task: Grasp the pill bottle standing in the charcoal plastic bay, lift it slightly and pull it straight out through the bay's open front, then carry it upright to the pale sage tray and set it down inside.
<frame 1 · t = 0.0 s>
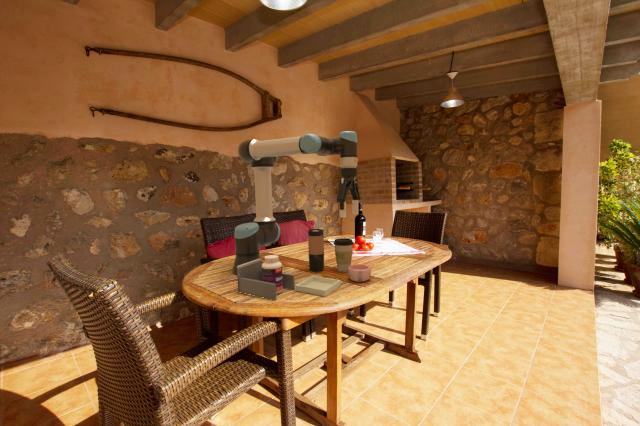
hand: (349, 215, 135), 28 cm above the table, fingers open, 13 cm apart
tray: (318, 288, 123), on the table
mug: (358, 279, 134), on the table
travel mug: (316, 270, 149), on the table
coffee cup: (343, 270, 149), on the table
bay: (266, 290, 122), on the table
pill bottle: (272, 292, 120), on the table
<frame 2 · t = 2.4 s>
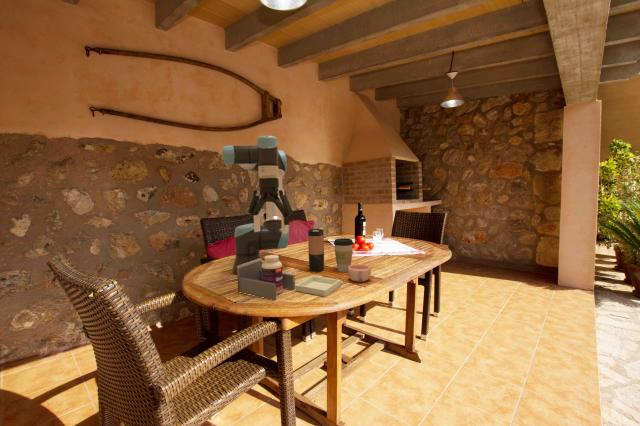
hand: (270, 232, 118), 24 cm above the table, fingers open, 13 cm apart
nothing on the table moved.
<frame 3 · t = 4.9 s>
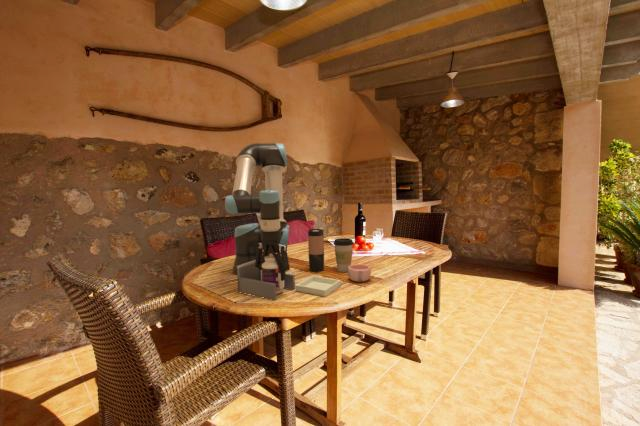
hand: (272, 286, 120), 2 cm above the table, fingers closed on pill bottle, 8 cm apart
pill bottle: (272, 292, 120), on the table, touching gripper
everything else where it was.
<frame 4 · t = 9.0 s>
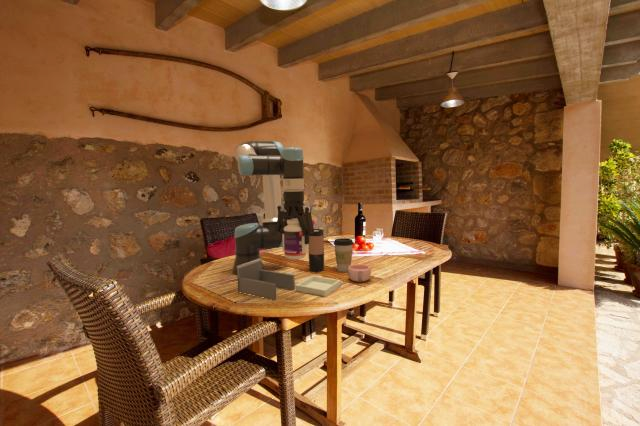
hand: (295, 251, 113), 17 cm above the table, fingers closed on pill bottle, 8 cm apart
pill bottle: (295, 258, 113), point 15 cm above the table, touching gripper
everything else where it was.
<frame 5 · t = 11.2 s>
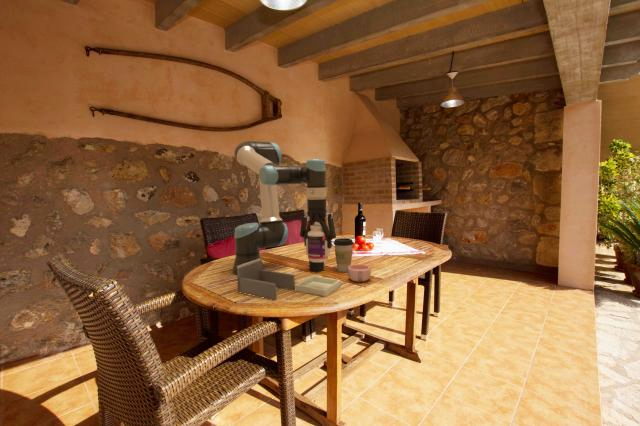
hand: (318, 255, 122), 14 cm above the table, fingers closed on pill bottle, 8 cm apart
pill bottle: (318, 261, 122), point 11 cm above the table, touching gripper
everything else where it was.
when the fingers open (4 cm above the table, at t = 13.3 s): pill bottle drops 1 cm, resting on tray.
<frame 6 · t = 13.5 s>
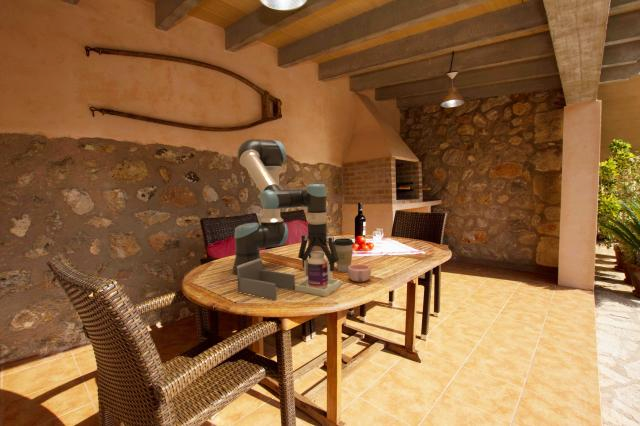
hand: (318, 277, 123), 5 cm above the table, fingers open, 10 cm apart
pill bottle: (318, 287, 123), resting on tray
everything else where it was.
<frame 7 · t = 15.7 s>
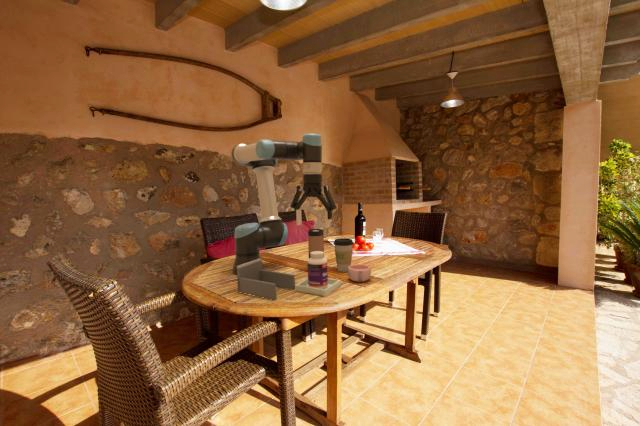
hand: (313, 226, 123), 25 cm above the table, fingers open, 13 cm apart
nothing on the table moved.
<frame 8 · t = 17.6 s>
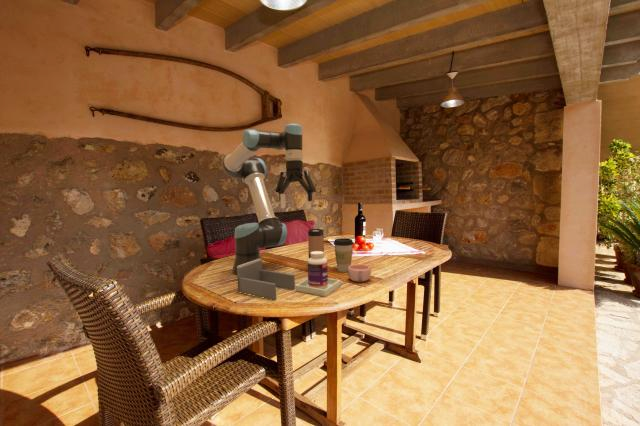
hand: (295, 208, 135), 32 cm above the table, fingers open, 13 cm apart
nothing on the table moved.
at the end: pill bottle inside the target area on the tray (0.2 cm from its centre), point 0.3 cm above the tray's base; pill bottle tilted 0°; the gripper is holding nothing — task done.
